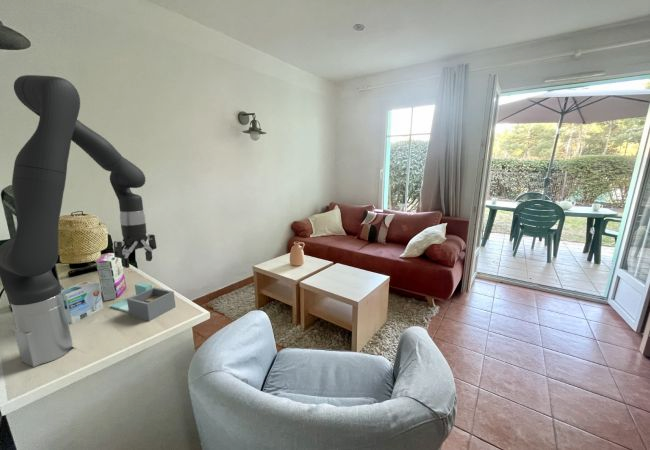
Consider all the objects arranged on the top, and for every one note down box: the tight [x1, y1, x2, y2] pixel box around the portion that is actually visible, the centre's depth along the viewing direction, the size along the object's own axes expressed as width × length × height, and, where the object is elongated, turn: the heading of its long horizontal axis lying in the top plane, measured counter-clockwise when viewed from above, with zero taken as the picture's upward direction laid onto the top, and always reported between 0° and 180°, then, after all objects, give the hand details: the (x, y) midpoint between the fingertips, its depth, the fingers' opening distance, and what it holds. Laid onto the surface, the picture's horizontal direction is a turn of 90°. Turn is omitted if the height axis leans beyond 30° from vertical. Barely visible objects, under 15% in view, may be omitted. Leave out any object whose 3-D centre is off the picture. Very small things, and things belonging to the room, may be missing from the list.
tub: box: [126, 286, 176, 322], centre depth 94 cm, size 10×10×7 cm
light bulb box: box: [61, 281, 104, 325], centre depth 91 cm, size 11×7×11 cm, turn 168°
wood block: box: [145, 296, 159, 303], centre depth 97 cm, size 4×4×4 cm
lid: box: [110, 282, 153, 313], centre depth 100 cm, size 11×10×7 cm
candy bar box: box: [95, 252, 127, 302], centre depth 107 cm, size 11×5×16 cm, turn 22°
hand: (138, 264), depth 101 cm, fingers open, 8 cm apart
